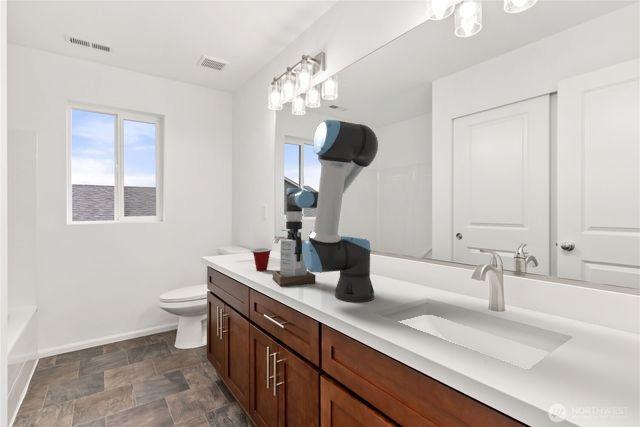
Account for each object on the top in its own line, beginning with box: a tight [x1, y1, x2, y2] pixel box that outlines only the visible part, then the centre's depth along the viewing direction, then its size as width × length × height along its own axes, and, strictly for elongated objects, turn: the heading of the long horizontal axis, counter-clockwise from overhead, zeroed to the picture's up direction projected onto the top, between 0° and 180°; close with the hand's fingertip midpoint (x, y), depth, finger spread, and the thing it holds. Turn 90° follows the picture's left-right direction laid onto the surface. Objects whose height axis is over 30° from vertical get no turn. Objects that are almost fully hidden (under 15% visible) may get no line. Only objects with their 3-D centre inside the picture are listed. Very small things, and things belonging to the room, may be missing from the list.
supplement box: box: [279, 239, 308, 276], centre depth 144 cm, size 10×9×17 cm
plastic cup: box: [251, 247, 272, 272], centre depth 172 cm, size 11×11×12 cm
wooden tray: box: [272, 270, 316, 288], centre depth 144 cm, size 15×16×4 cm
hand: (293, 266), depth 144 cm, fingers closed on supplement box, 12 cm apart
